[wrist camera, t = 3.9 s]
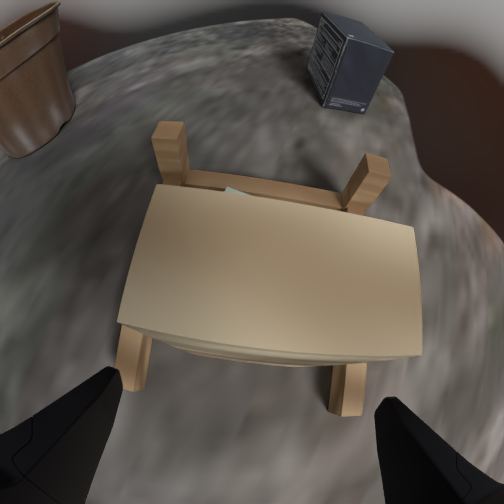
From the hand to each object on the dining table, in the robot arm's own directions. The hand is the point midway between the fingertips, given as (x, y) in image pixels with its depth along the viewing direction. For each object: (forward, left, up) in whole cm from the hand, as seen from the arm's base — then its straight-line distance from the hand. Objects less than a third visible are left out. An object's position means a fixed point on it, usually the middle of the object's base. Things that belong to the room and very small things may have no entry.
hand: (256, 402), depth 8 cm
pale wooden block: (+3, -2, -11) cm, 11 cm away
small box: (+27, -25, -11) cm, 38 cm away
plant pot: (+36, +15, -11) cm, 40 cm away
